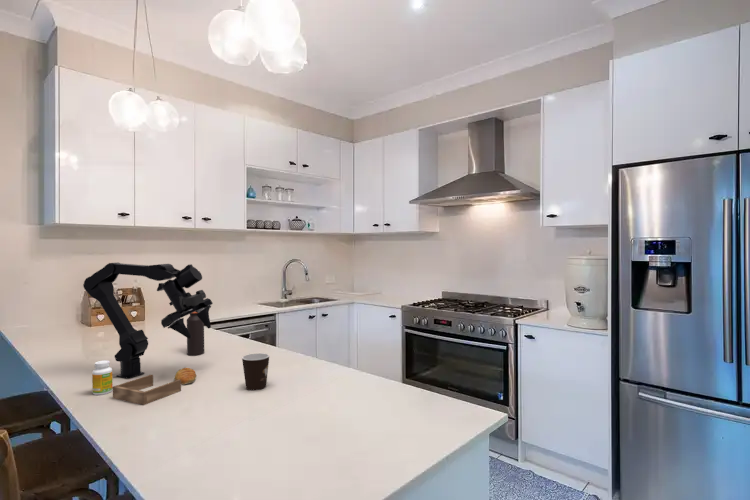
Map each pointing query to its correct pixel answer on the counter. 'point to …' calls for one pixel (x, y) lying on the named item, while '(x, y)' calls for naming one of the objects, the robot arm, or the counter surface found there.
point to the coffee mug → (255, 370)
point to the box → (132, 393)
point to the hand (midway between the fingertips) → (200, 332)
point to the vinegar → (195, 335)
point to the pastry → (185, 376)
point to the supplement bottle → (102, 378)
